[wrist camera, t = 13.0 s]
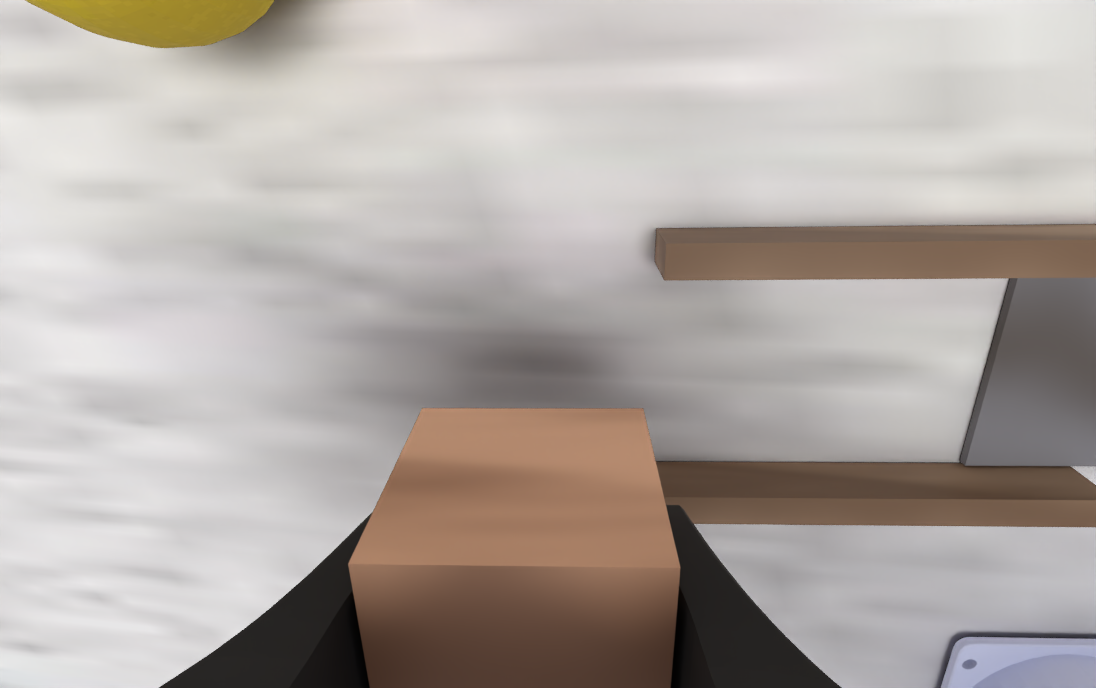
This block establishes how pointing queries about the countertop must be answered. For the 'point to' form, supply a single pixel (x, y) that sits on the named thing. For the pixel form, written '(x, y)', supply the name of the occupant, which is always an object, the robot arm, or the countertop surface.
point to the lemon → (160, 19)
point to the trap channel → (1002, 403)
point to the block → (520, 554)
